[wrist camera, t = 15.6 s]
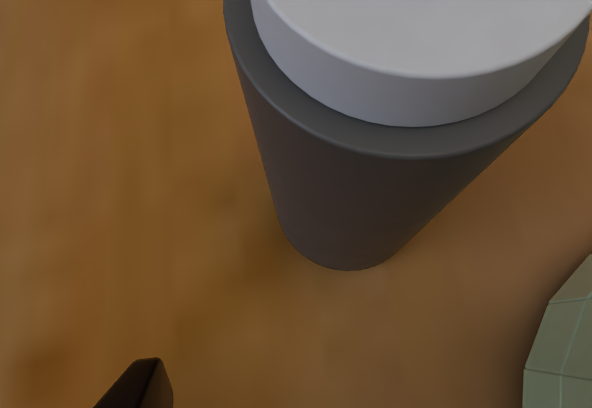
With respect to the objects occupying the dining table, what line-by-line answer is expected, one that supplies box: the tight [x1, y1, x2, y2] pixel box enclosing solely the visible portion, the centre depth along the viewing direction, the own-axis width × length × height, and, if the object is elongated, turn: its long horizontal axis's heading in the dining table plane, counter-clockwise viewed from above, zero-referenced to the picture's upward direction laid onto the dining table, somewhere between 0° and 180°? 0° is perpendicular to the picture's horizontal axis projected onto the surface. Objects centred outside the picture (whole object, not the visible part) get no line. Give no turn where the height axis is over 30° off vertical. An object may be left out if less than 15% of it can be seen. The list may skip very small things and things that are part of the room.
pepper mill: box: [223, 0, 592, 271], centre depth 10 cm, size 5×5×13 cm
